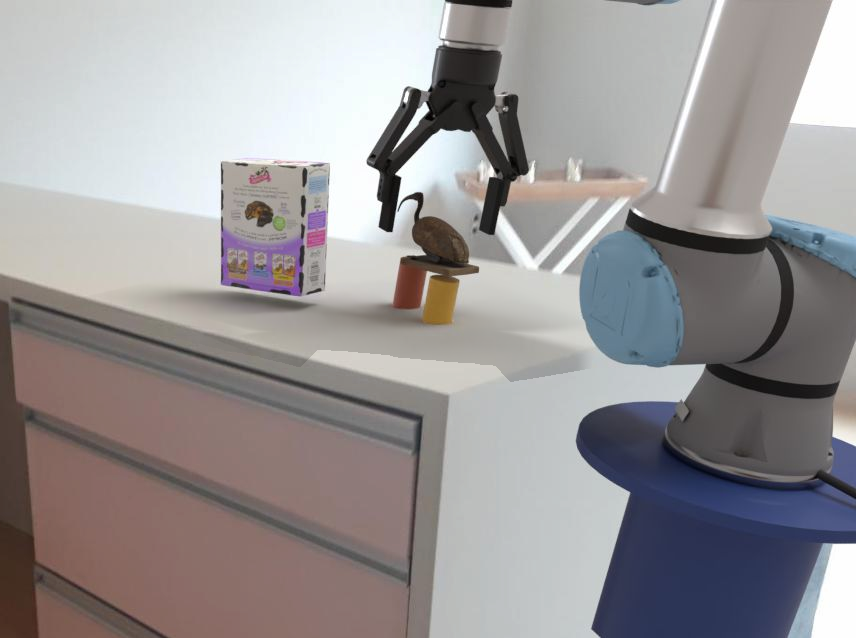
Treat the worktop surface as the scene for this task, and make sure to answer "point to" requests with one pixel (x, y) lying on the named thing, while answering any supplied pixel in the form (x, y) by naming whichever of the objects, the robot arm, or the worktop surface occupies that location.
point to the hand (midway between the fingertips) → (436, 231)
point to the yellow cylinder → (440, 299)
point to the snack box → (274, 225)
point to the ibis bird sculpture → (437, 245)
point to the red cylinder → (409, 287)
